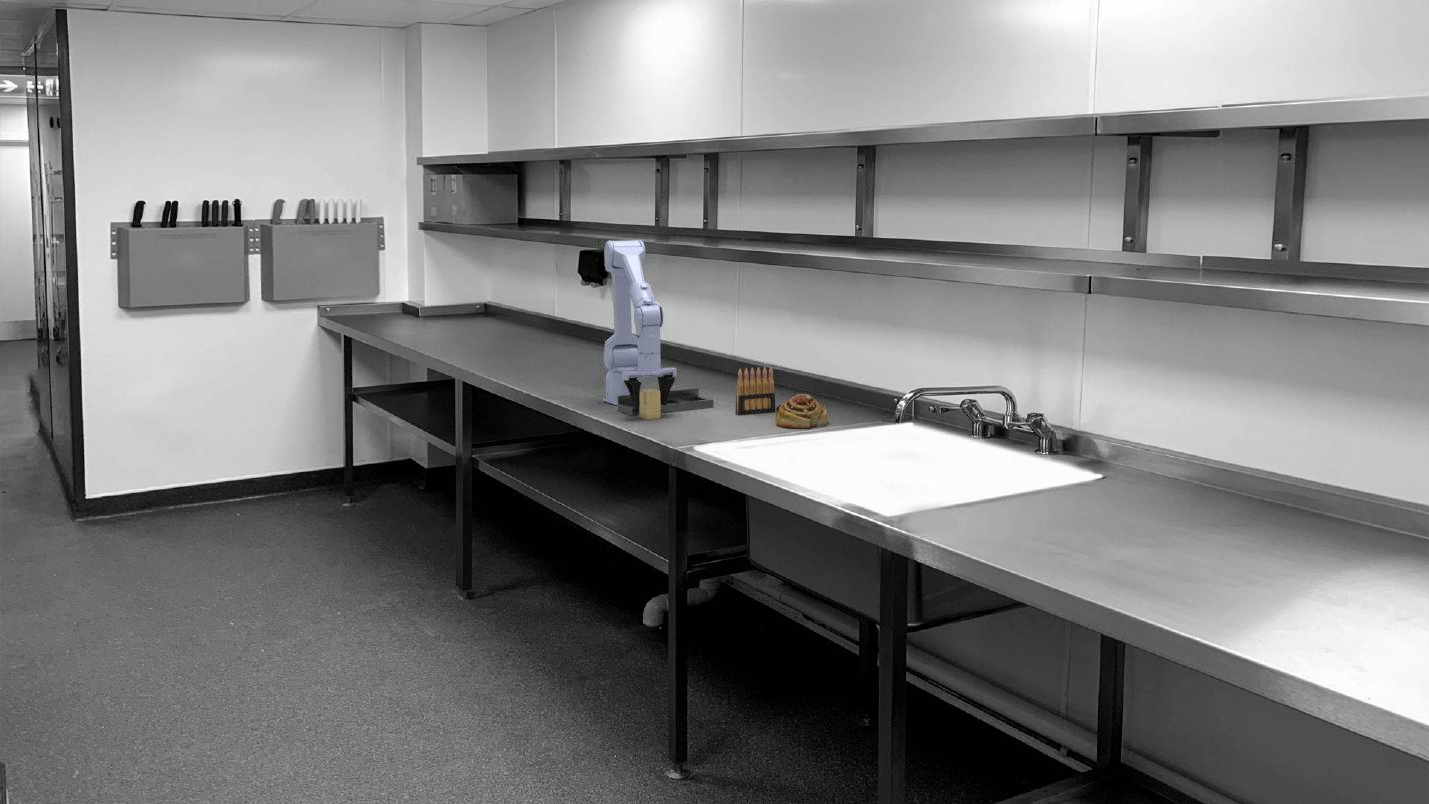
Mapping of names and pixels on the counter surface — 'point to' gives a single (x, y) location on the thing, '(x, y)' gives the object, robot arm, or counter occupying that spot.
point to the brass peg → (650, 404)
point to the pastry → (801, 413)
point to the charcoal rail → (670, 402)
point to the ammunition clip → (755, 393)
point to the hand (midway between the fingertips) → (649, 406)
